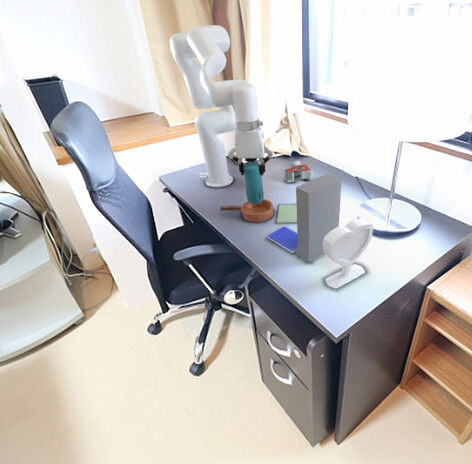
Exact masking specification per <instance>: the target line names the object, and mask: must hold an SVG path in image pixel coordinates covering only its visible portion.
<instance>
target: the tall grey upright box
mask: <svg viewBox="0 0 472 464" xmlns="http://www.w3.org/2000/svg"><path fill="white" fill-rule="evenodd" d="M342 180H343V179H342V177H340V176H337V175H335V174H333V173H330V172H327V173H325V174H323V175H321V176H318V177H316V178H313V179H312V180H308V181H307V182H304V183H302V184H300V185H298V186H296V187H295V199H296V205H297V223H296V230H297V231H296V233H297V235H298V251H296V252H295V253H296V255H297V256H298V257H300V258H301V259H302V260H304V261H305V262H307V263H311V262H312V261H314V260H316V259H317V258H319V257H320V256H322V255H324V254H325V253H324V251H323V239H324V237H325V236H326V235H327V234H328V233H329V232H330V231H332V230H333V229H335V228H336V227H339V226H340V211H341V194H342Z"/></svg>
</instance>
